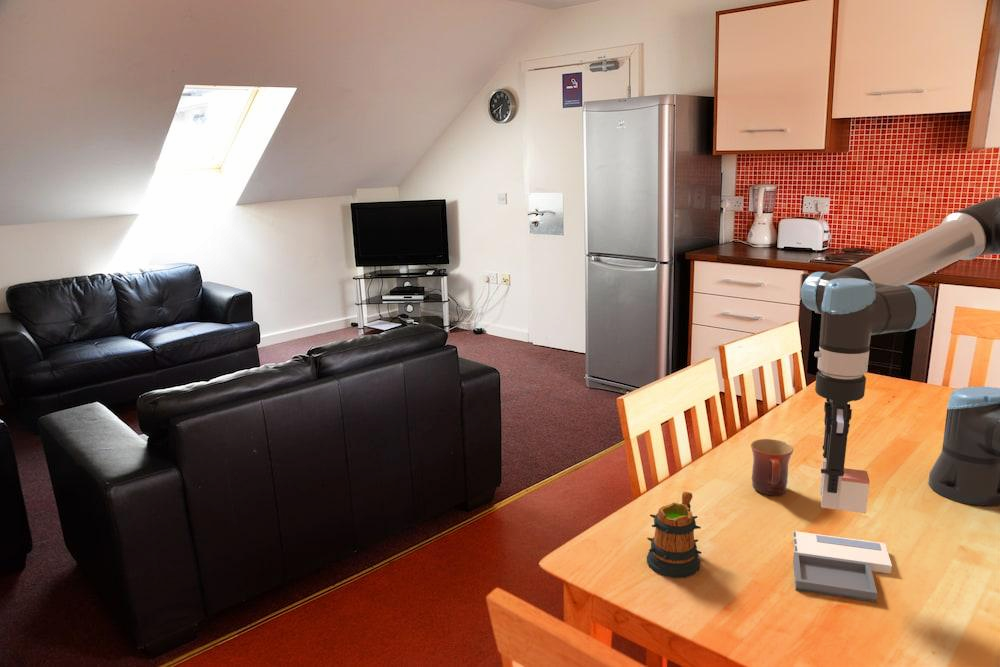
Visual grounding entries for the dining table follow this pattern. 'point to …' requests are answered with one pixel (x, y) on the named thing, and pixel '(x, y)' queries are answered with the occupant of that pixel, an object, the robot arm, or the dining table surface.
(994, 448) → the robot arm
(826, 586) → the tray
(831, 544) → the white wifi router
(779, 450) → the mug
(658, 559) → the mug
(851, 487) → the block
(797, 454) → the dining table surface
